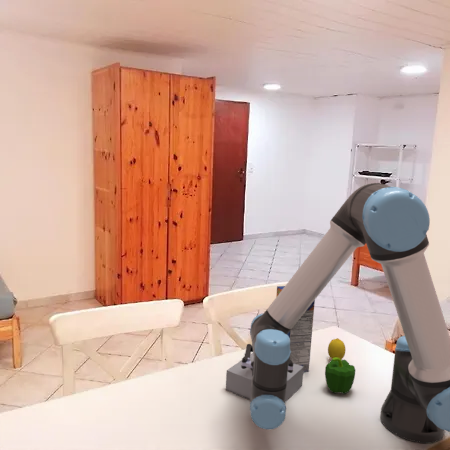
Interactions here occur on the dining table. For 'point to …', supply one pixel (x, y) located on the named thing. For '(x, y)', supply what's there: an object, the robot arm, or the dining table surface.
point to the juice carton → (301, 337)
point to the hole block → (242, 380)
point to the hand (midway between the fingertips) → (266, 338)
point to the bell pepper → (339, 375)
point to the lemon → (336, 349)
